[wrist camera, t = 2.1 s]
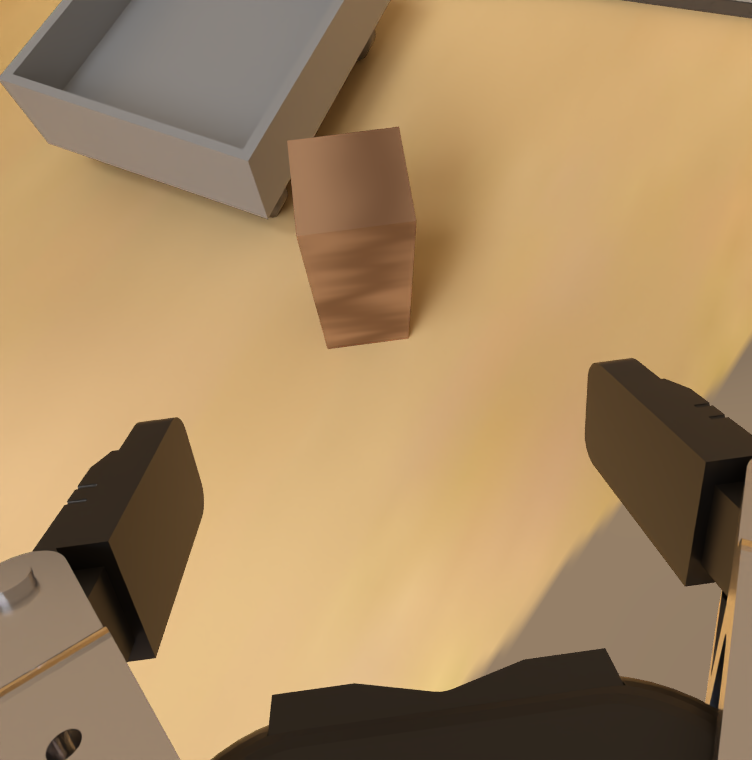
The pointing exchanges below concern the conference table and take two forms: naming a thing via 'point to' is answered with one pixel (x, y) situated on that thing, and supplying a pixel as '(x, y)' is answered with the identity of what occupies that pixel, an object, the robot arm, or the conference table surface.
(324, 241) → the walnut block
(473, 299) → the conference table surface
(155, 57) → the shallow gray tray
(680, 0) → the shutter
